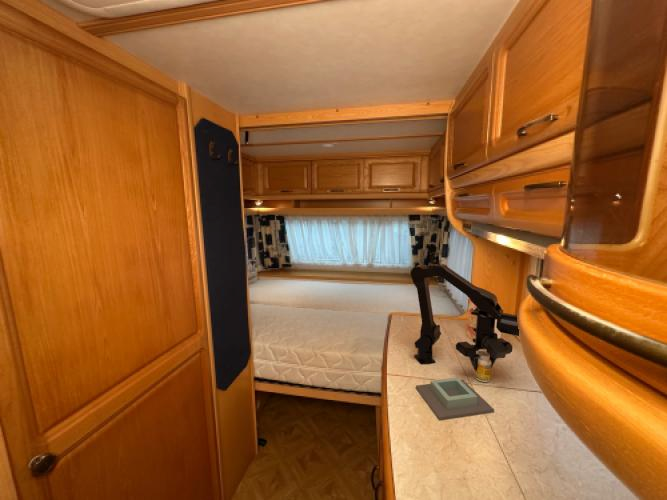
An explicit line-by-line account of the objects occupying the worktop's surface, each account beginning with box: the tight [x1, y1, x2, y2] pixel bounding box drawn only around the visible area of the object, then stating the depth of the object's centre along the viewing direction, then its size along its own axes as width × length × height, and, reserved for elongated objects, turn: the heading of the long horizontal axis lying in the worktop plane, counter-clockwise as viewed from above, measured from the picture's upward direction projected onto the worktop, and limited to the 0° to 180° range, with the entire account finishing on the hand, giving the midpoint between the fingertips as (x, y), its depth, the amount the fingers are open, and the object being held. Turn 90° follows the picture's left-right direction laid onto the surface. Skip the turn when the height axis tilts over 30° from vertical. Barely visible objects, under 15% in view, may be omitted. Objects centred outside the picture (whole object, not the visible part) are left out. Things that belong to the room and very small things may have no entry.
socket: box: [415, 377, 495, 421], centre depth 88 cm, size 15×18×4 cm
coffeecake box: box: [466, 297, 504, 352], centre depth 124 cm, size 15×7×20 cm, turn 4°
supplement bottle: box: [473, 350, 492, 383], centre depth 98 cm, size 5×5×10 cm
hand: (482, 369), depth 98 cm, fingers closed on supplement bottle, 5 cm apart
